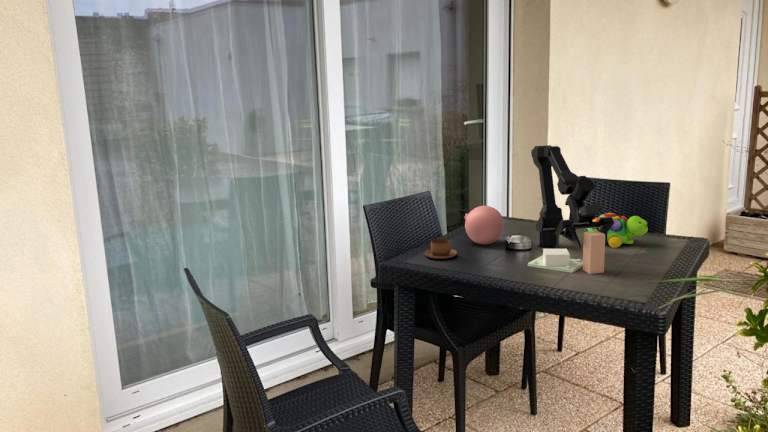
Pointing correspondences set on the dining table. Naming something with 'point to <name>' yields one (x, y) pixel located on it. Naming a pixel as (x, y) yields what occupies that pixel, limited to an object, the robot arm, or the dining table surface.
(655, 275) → the dining table surface
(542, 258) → the tower base
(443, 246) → the cup and saucer
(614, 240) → the turtle toy
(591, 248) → the column brick
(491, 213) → the balloon
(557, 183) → the robot arm
